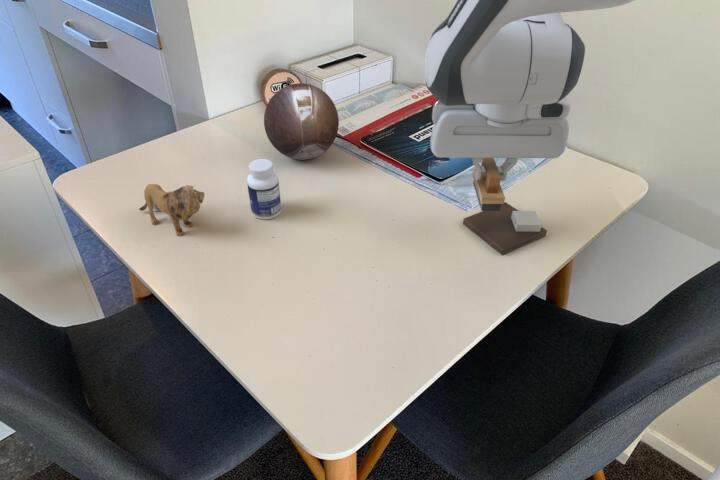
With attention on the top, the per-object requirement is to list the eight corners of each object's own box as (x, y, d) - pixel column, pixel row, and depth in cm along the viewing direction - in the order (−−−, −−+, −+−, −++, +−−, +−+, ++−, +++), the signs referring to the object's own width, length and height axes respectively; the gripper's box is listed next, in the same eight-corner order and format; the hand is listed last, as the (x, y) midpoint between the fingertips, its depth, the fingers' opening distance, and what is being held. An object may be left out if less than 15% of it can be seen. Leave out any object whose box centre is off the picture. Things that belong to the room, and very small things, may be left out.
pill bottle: (250, 205, 96) (243, 158, 90) (279, 201, 97) (274, 154, 91) (252, 222, 92) (245, 174, 85) (283, 218, 93) (278, 170, 86)
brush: (502, 211, 83) (509, 181, 79) (479, 211, 83) (485, 181, 79) (491, 183, 90) (497, 153, 86) (470, 182, 90) (475, 153, 86)
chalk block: (539, 231, 88) (541, 224, 87) (516, 231, 88) (517, 224, 87) (533, 217, 91) (535, 210, 90) (510, 217, 91) (512, 210, 90)
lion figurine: (215, 225, 91) (206, 181, 85) (196, 243, 87) (185, 198, 81) (150, 204, 95) (137, 161, 90) (128, 220, 92) (114, 176, 86)
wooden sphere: (286, 180, 102) (279, 109, 93) (256, 148, 112) (247, 80, 103) (352, 161, 108) (352, 91, 99) (318, 132, 118) (315, 66, 109)
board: (545, 236, 89) (547, 230, 88) (502, 255, 85) (503, 250, 84) (504, 207, 96) (505, 201, 95) (462, 224, 92) (463, 218, 91)
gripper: (436, 105, 73) (427, 188, 82) (582, 107, 73) (557, 189, 82) (431, 87, 78) (423, 167, 86) (568, 88, 78) (546, 168, 87)
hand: (489, 178), depth 84 cm, fingers closed on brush, 2 cm apart
